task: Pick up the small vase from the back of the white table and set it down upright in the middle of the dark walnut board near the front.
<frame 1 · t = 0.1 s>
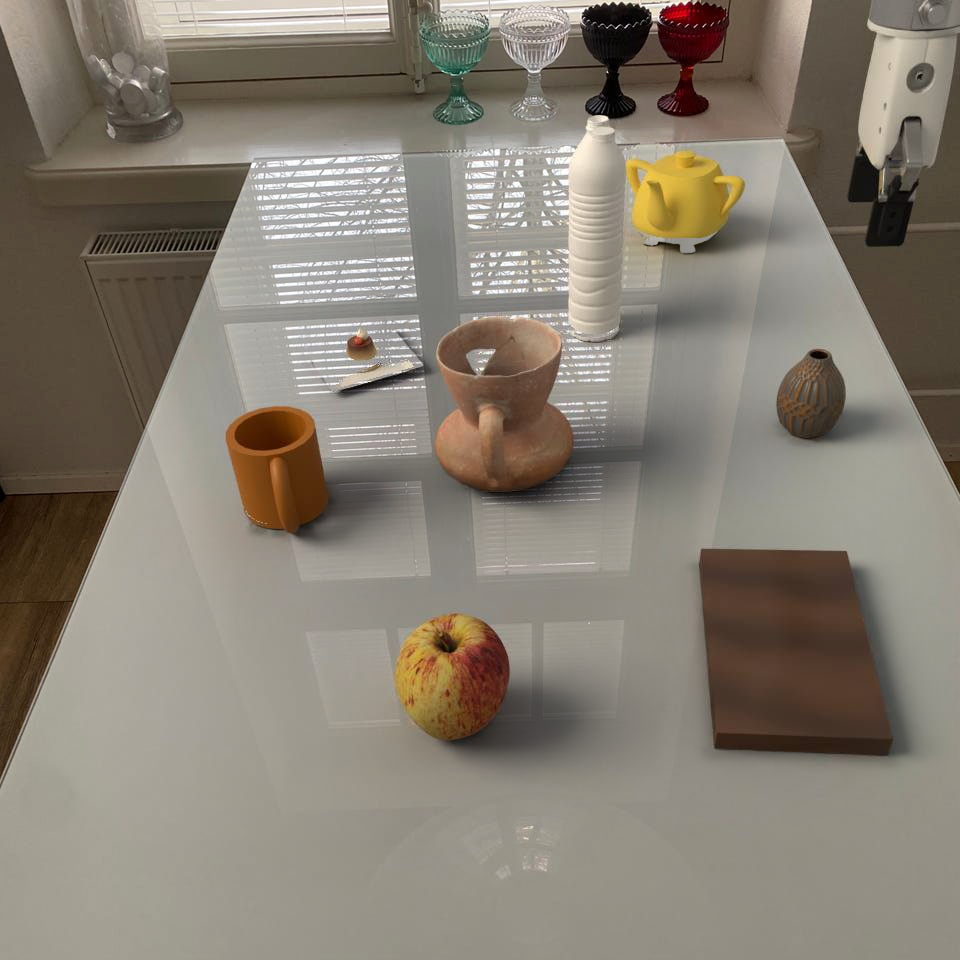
hand: (873, 222, 90), 23 cm above the table, tool pointing down, fingers open, 9 cm apart
walnut board: (783, 650, 84), on the table
teapot: (672, 245, 142), on the table
apple: (456, 721, 81), on the table
mug: (286, 514, 102), on the table
vase: (804, 429, 107), on the table
water bottle: (595, 336, 125), on the table
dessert: (363, 366, 123), on the table
ceramic jug: (504, 470, 105), on the table
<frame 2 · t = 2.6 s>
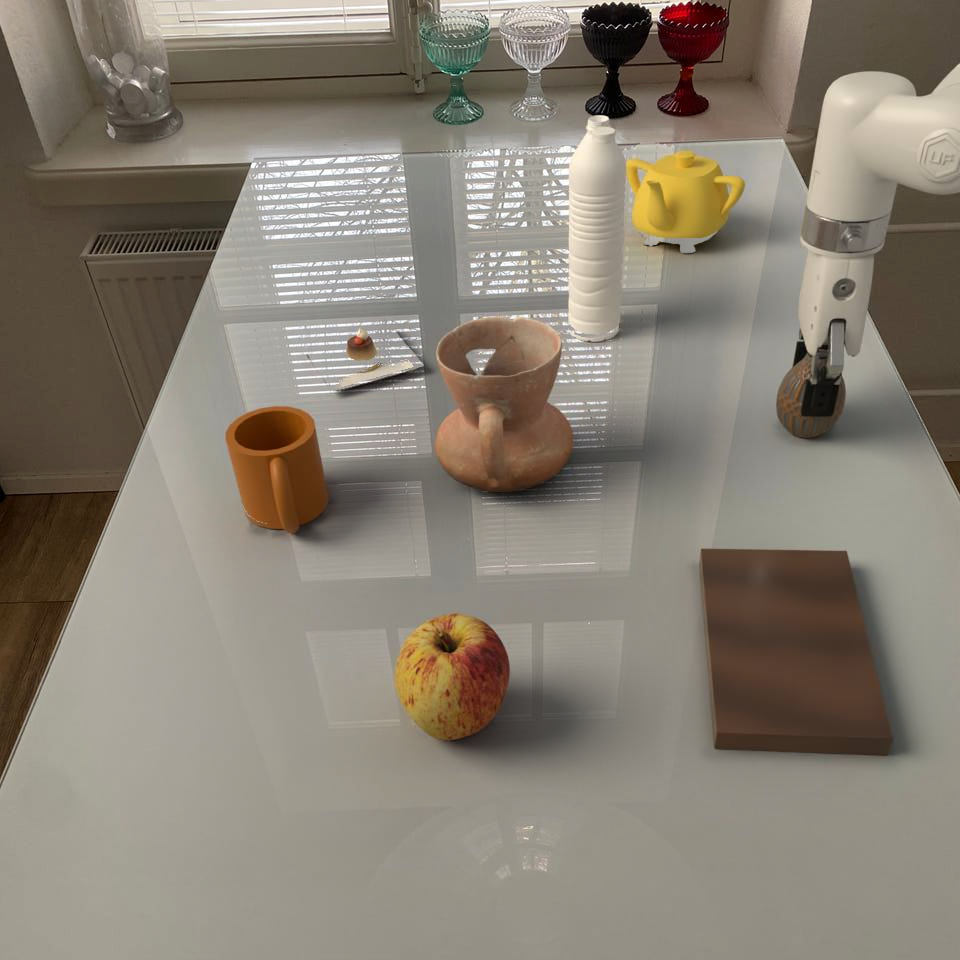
hand: (811, 394, 104), 4 cm above the table, tool pointing down, fingers closed on vase, 6 cm apart
vase: (804, 429, 107), on the table, touching gripper
everything else where it was.
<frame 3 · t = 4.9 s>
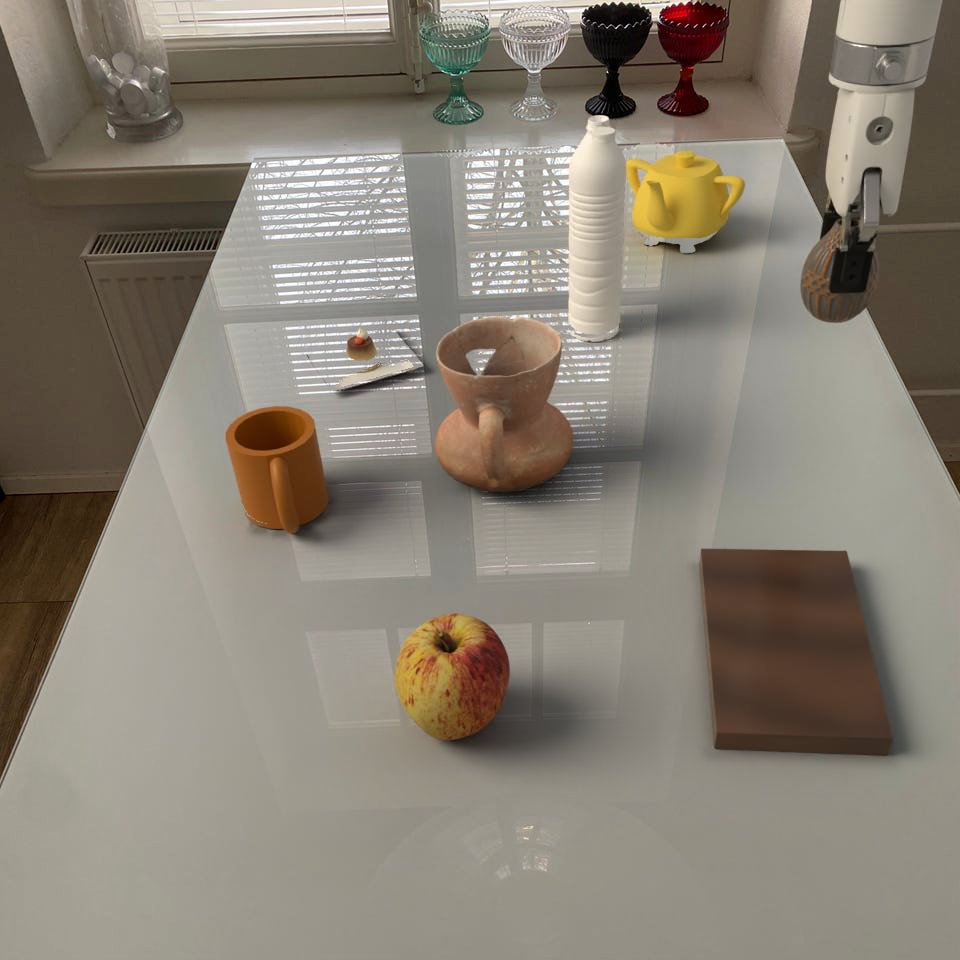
hand: (840, 271, 92), 19 cm above the table, tool pointing down, fingers closed on vase, 6 cm apart
vase: (832, 315, 95), point 14 cm above the table, touching gripper
everything else where it was.
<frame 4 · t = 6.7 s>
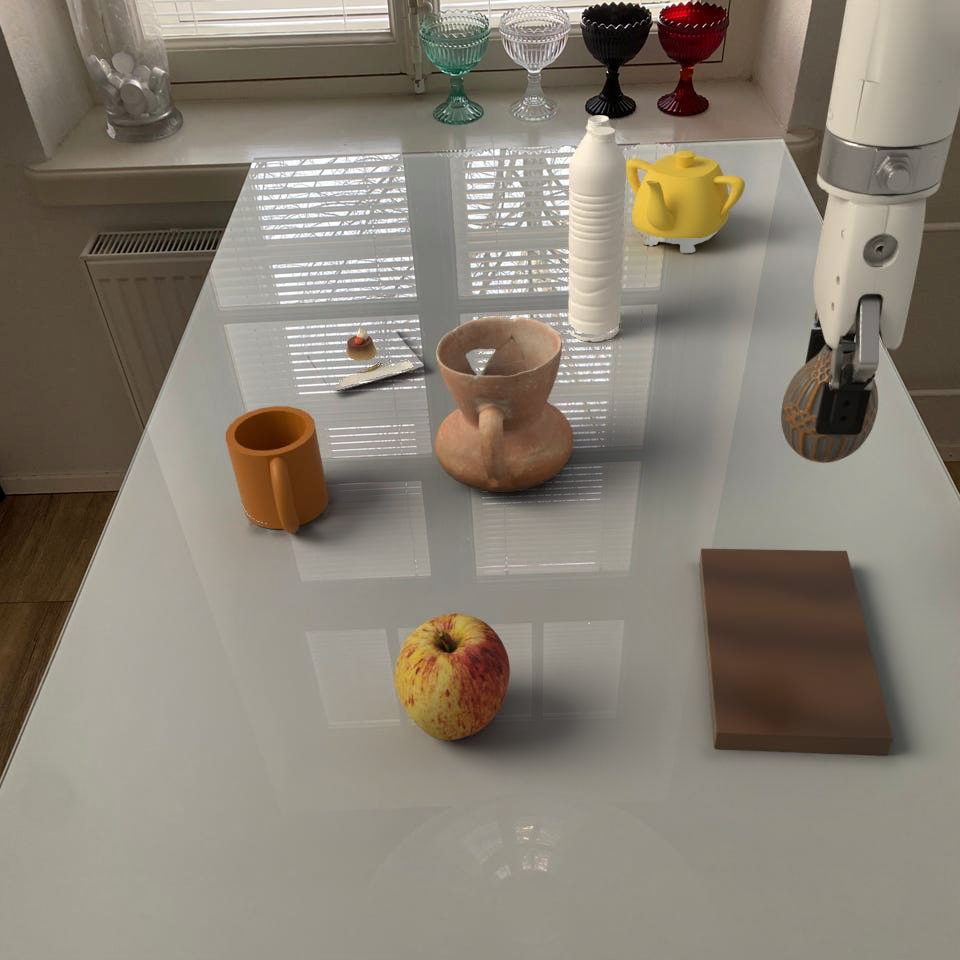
hand: (830, 402, 75), 20 cm above the table, tool pointing down, fingers closed on vase, 6 cm apart
vase: (820, 450, 78), point 15 cm above the table, touching gripper
everything else where it was.
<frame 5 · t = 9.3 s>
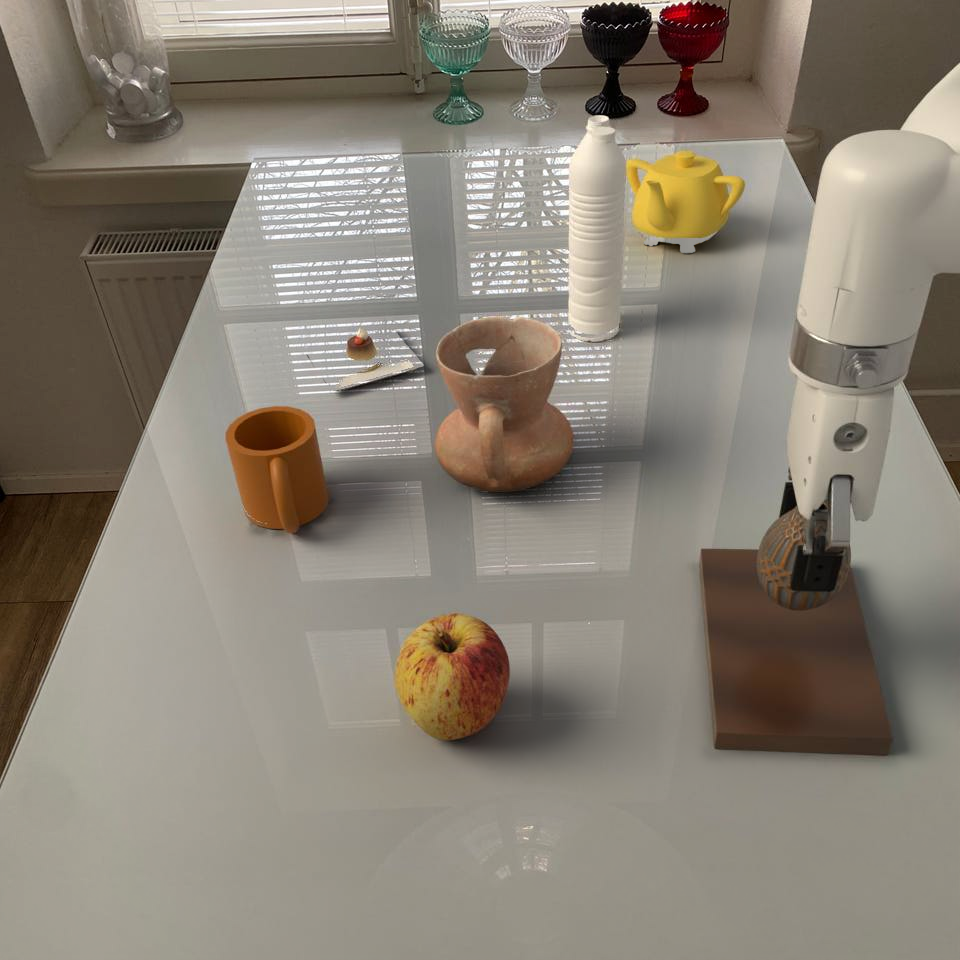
hand: (805, 554, 77), 11 cm above the table, tool pointing down, fingers closed on vase, 6 cm apart
vase: (795, 595, 80), point 6 cm above the table, touching gripper
everything else where it was.
when the fingers open (6 cm above the table, at t = 11.0 s): vase stays where it is, resting on walnut board.
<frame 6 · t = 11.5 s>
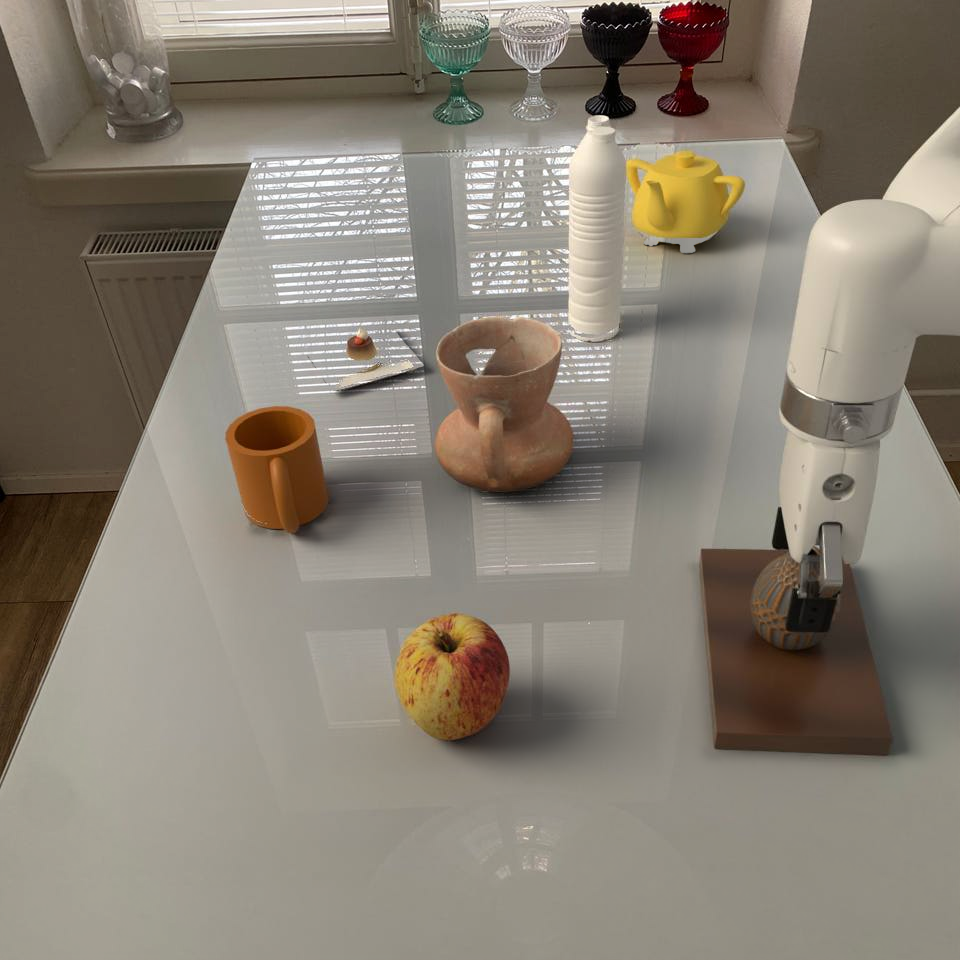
hand: (798, 586, 79), 7 cm above the table, tool pointing down, fingers open, 9 cm apart
vase: (787, 635, 83), point 2 cm above the table, touching walnut board
everything else where it was.
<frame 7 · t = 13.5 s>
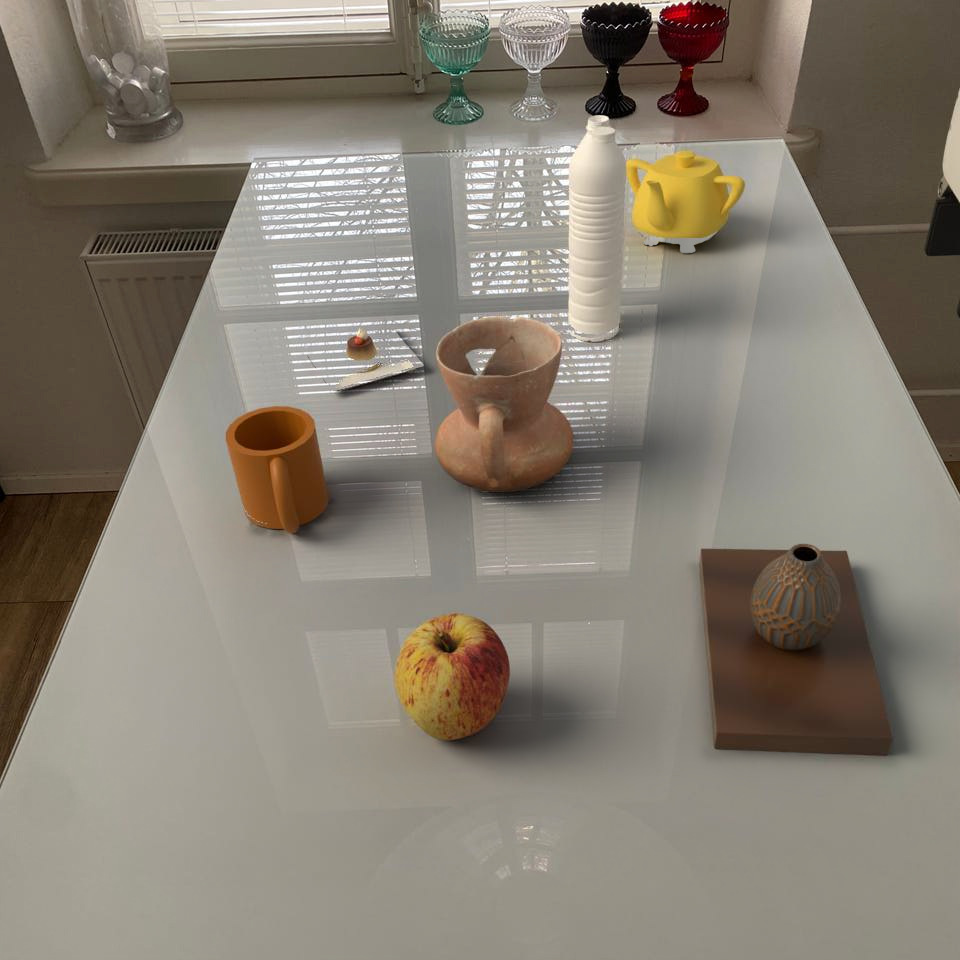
nothing on the table moved.
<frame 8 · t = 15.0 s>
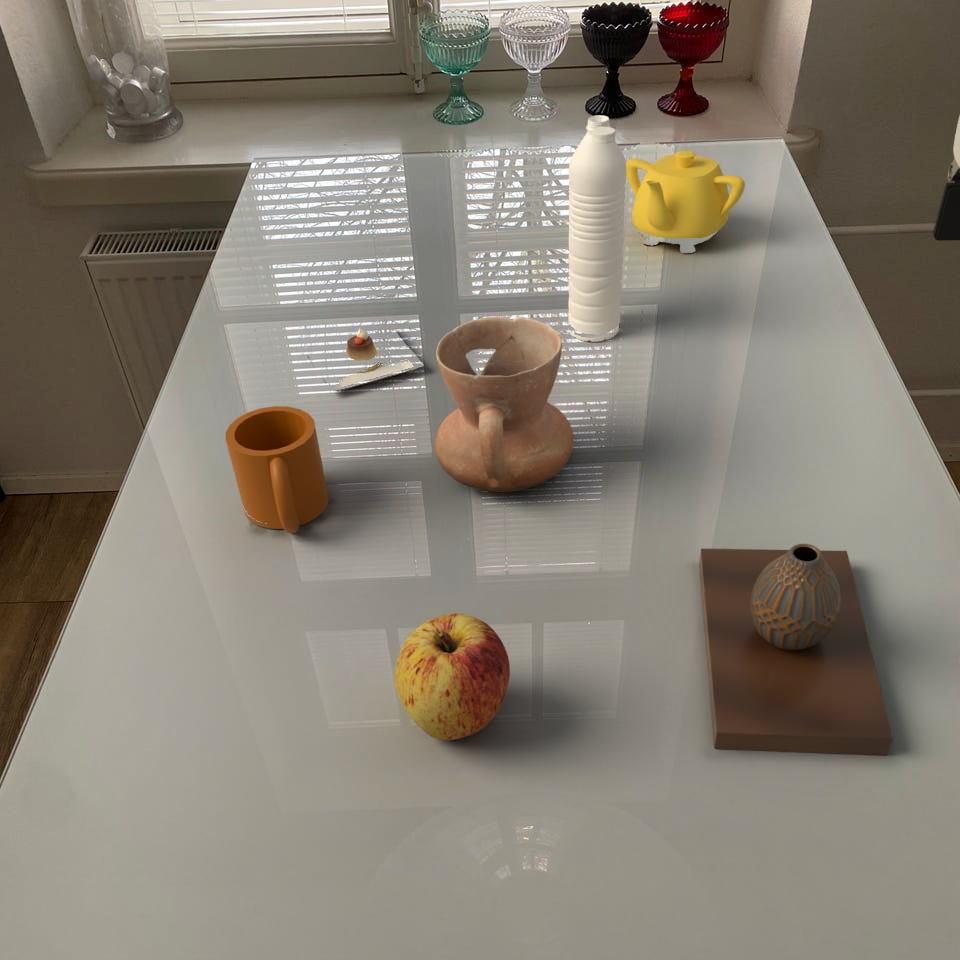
nothing on the table moved.
at the end: vase inside the target area on the walnut board (0.0 cm from its centre), point 1.8 cm above the walnut board's base; vase tilted 0°; the gripper is holding nothing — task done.
